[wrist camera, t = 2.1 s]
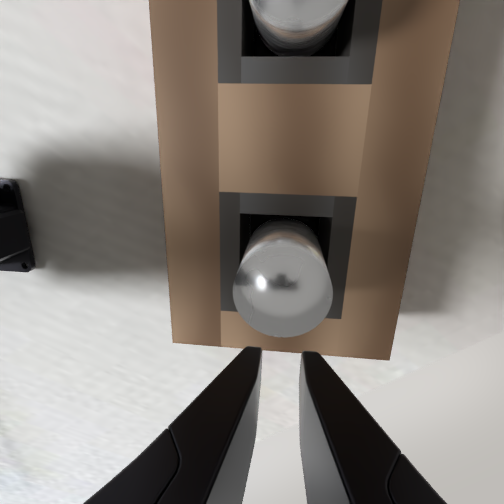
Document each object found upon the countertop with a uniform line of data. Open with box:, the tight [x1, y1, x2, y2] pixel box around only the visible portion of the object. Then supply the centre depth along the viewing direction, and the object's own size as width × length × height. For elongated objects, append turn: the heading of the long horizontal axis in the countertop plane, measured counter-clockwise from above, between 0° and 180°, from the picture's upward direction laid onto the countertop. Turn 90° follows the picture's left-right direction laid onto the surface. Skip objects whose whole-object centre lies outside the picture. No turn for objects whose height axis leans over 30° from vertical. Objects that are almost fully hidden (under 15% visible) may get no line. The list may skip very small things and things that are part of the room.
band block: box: [149, 0, 460, 360], centre depth 16 cm, size 12×22×5 cm, turn 179°
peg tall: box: [233, 218, 333, 337], centre depth 14 cm, size 4×4×5 cm
